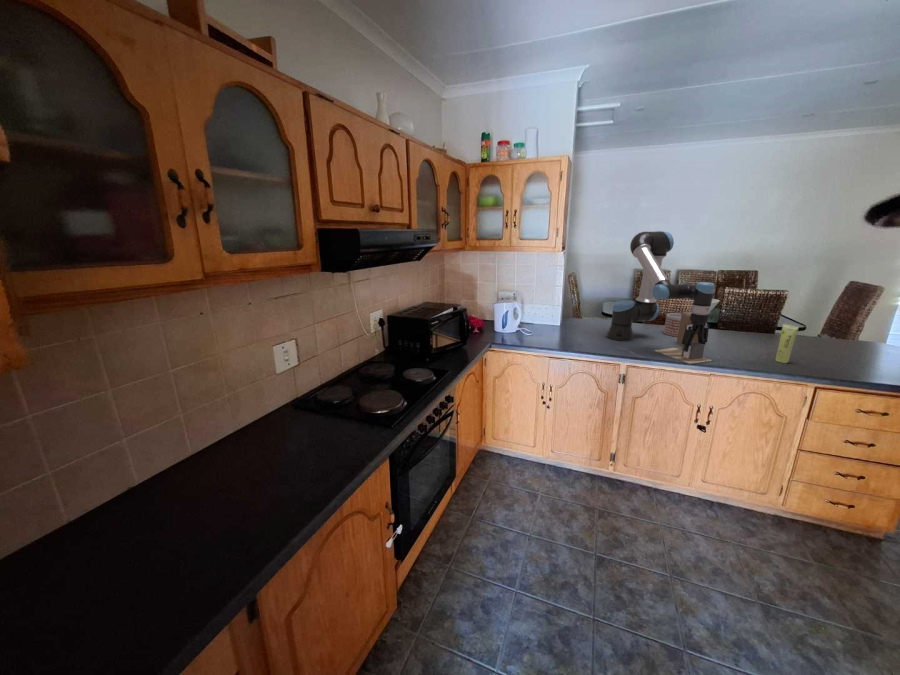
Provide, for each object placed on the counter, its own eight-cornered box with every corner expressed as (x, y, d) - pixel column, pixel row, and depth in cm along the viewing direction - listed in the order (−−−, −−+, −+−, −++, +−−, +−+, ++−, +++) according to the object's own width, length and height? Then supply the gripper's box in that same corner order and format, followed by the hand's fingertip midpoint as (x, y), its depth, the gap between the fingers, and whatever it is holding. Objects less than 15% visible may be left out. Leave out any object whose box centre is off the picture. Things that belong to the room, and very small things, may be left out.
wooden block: (702, 350, 201) (709, 315, 195) (682, 349, 203) (689, 315, 197) (694, 344, 210) (700, 311, 204) (675, 343, 212) (681, 311, 206)
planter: (687, 333, 234) (691, 314, 230) (688, 338, 223) (691, 318, 219) (664, 330, 241) (667, 312, 237) (662, 335, 230) (666, 316, 226)
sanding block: (680, 357, 186) (683, 342, 184) (691, 355, 188) (694, 341, 186) (691, 360, 181) (694, 346, 179) (701, 359, 183) (704, 344, 181)
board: (653, 352, 198) (653, 350, 198) (674, 349, 202) (674, 347, 202) (689, 365, 178) (689, 363, 178) (711, 362, 182) (712, 360, 182)
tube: (773, 361, 182) (783, 324, 177) (773, 359, 186) (783, 322, 180) (788, 364, 179) (799, 326, 173) (788, 361, 182) (798, 324, 177)
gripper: (691, 316, 172) (683, 361, 178) (722, 313, 177) (713, 356, 184) (678, 313, 179) (670, 356, 185) (708, 310, 184) (699, 352, 190)
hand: (691, 356), depth 184 cm, fingers closed on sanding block, 7 cm apart
